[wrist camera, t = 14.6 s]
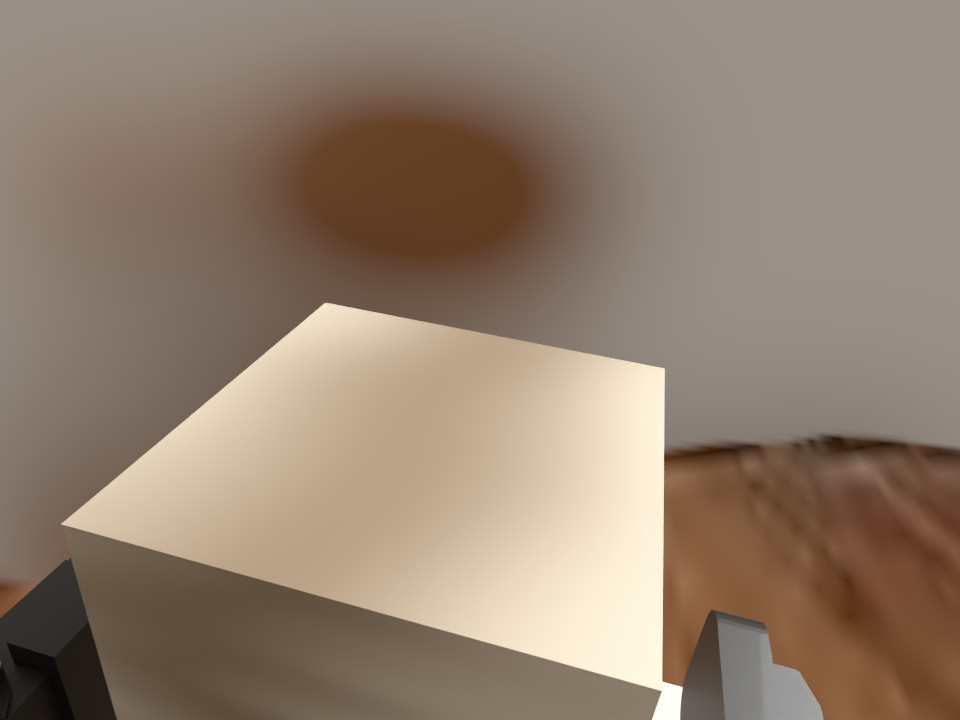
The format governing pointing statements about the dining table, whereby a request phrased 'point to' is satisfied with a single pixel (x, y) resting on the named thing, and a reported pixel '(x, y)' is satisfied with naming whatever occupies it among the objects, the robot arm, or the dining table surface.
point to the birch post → (389, 536)
